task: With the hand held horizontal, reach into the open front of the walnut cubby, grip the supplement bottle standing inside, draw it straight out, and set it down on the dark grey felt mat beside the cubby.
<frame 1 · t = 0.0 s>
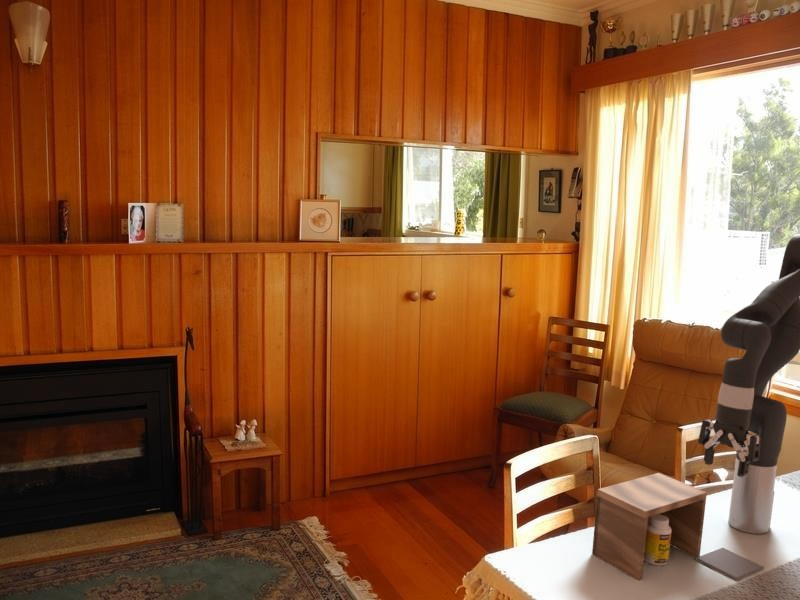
hand: (724, 470, 180), 17 cm above the table, tool pointing down, fingers open, 8 cm apart
cubby: (645, 555, 172), on the table
mat: (729, 564, 170), on the table
supplement bottle: (654, 561, 170), on the table
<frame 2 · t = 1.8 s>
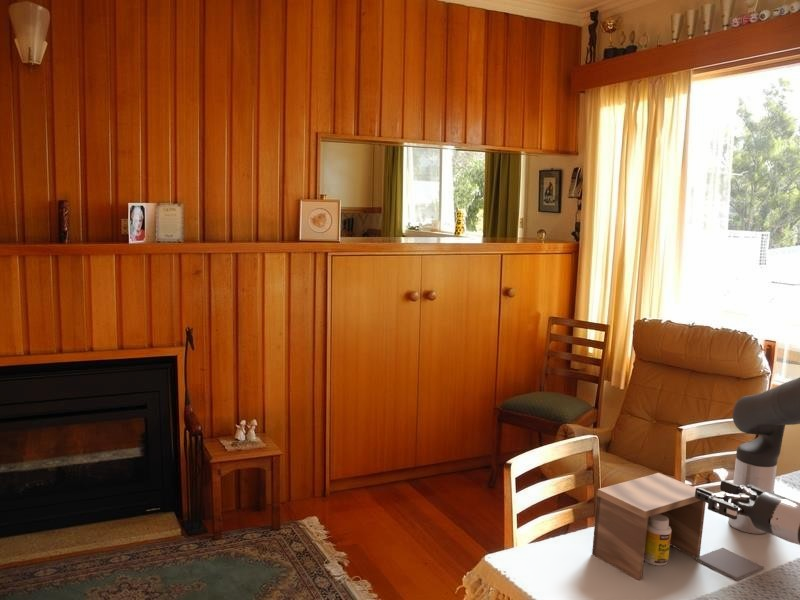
hand: (709, 488, 158), 21 cm above the table, tool horizontal, fingers open, 8 cm apart
nothing on the table moved.
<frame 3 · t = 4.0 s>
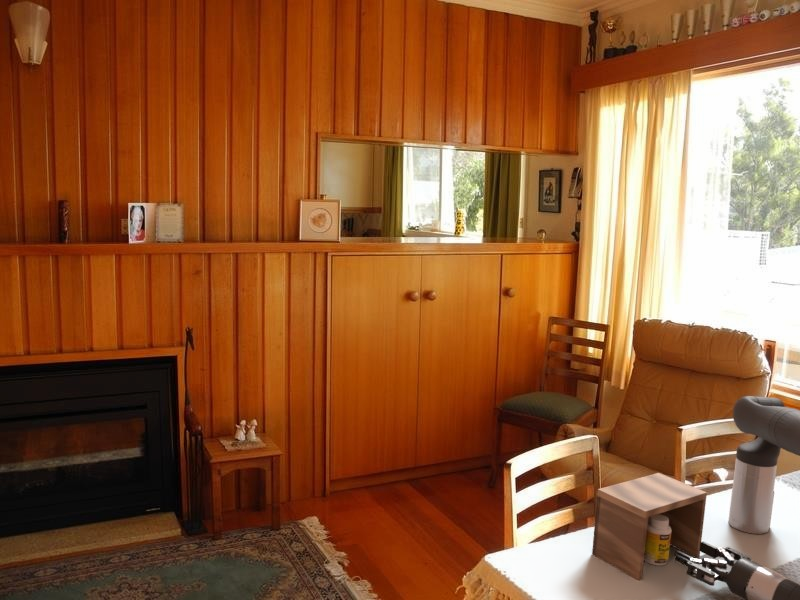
hand: (688, 550, 163), 6 cm above the table, tool horizontal, fingers open, 8 cm apart
nothing on the table moved.
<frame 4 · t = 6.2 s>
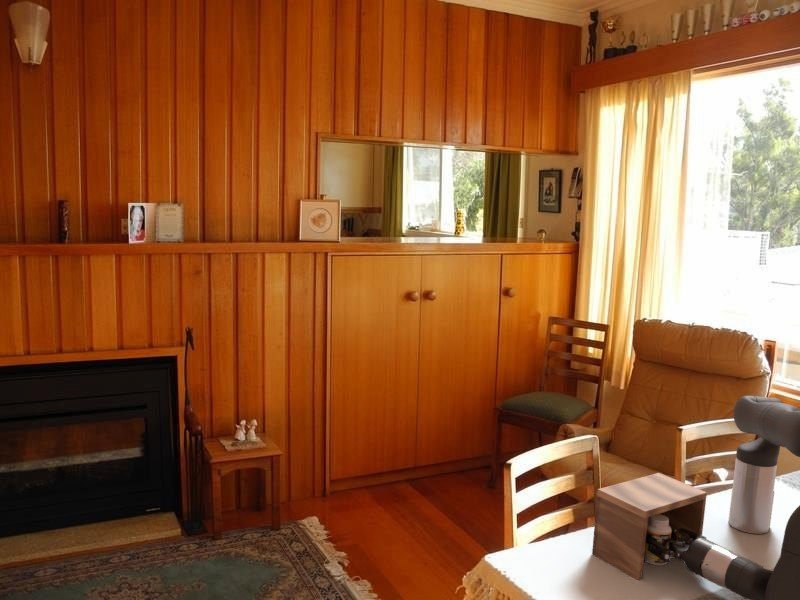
hand: (648, 530, 171), 6 cm above the table, tool horizontal, fingers closed on supplement bottle, 5 cm apart
supplement bottle: (654, 561, 170), on the table, touching gripper
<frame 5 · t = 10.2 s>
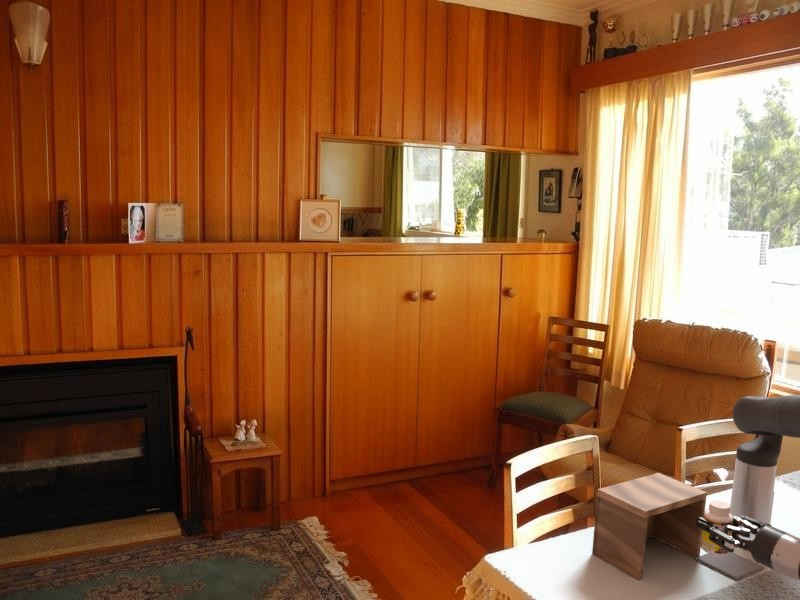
hand: (706, 518, 159), 15 cm above the table, tool horizontal, fingers closed on supplement bottle, 5 cm apart
supplement bottle: (714, 551, 158), point 8 cm above the table, touching gripper
when the fingers open (7 cm above the table, at t = 14.0 s): supplement bottle stays where it is, resting on mat.
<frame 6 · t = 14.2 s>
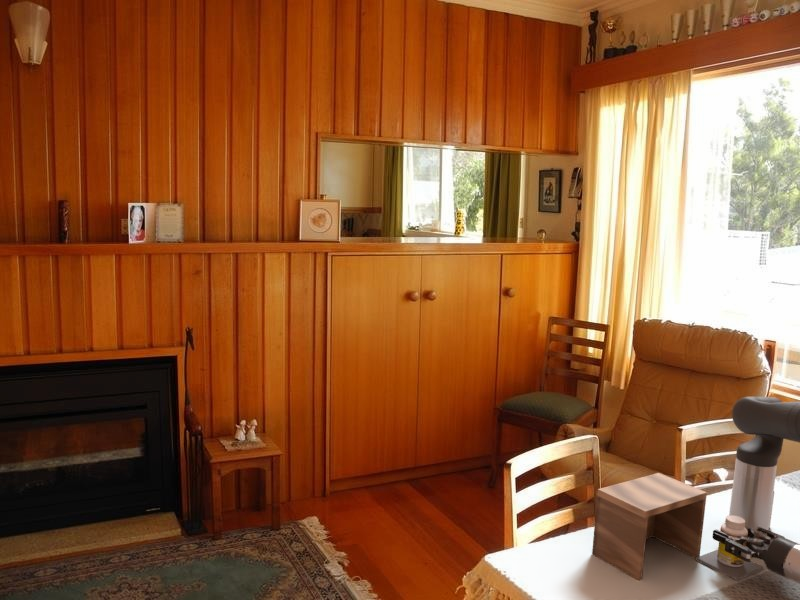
hand: (723, 530, 171), 7 cm above the table, tool horizontal, fingers open, 6 cm apart
supplement bottle: (730, 562, 170), resting on mat
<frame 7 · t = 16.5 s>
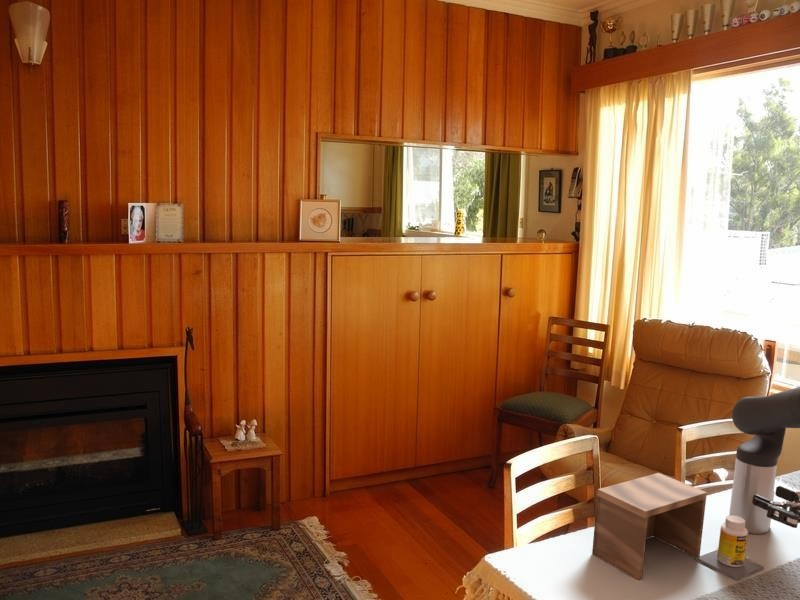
hand: (765, 494, 160), 20 cm above the table, tool horizontal, fingers open, 8 cm apart
nothing on the table moved.
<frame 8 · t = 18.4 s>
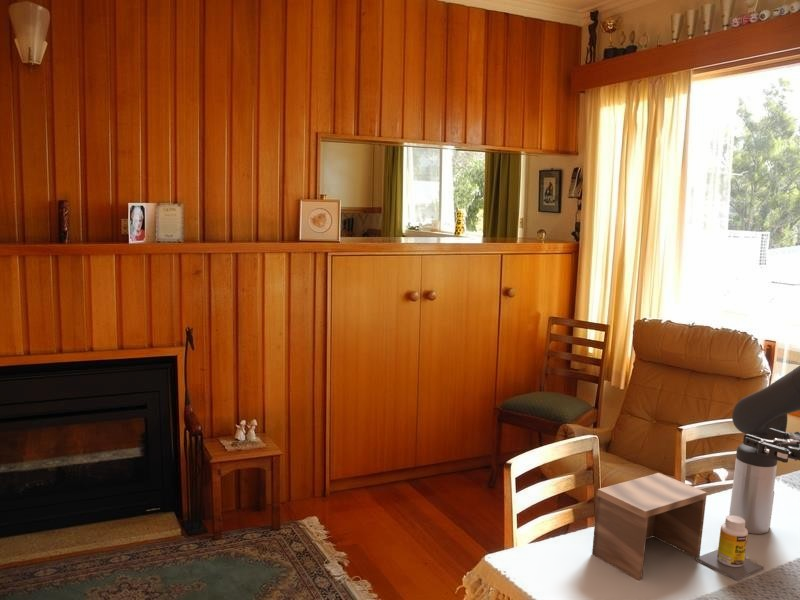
hand: (756, 435, 159), 32 cm above the table, tool horizontal, fingers open, 8 cm apart
nothing on the table moved.
at the end: supplement bottle inside the target area on the mat (0.1 cm from its centre), point 0.4 cm above the mat's base; supplement bottle tilted 0°; the gripper is holding nothing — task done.
